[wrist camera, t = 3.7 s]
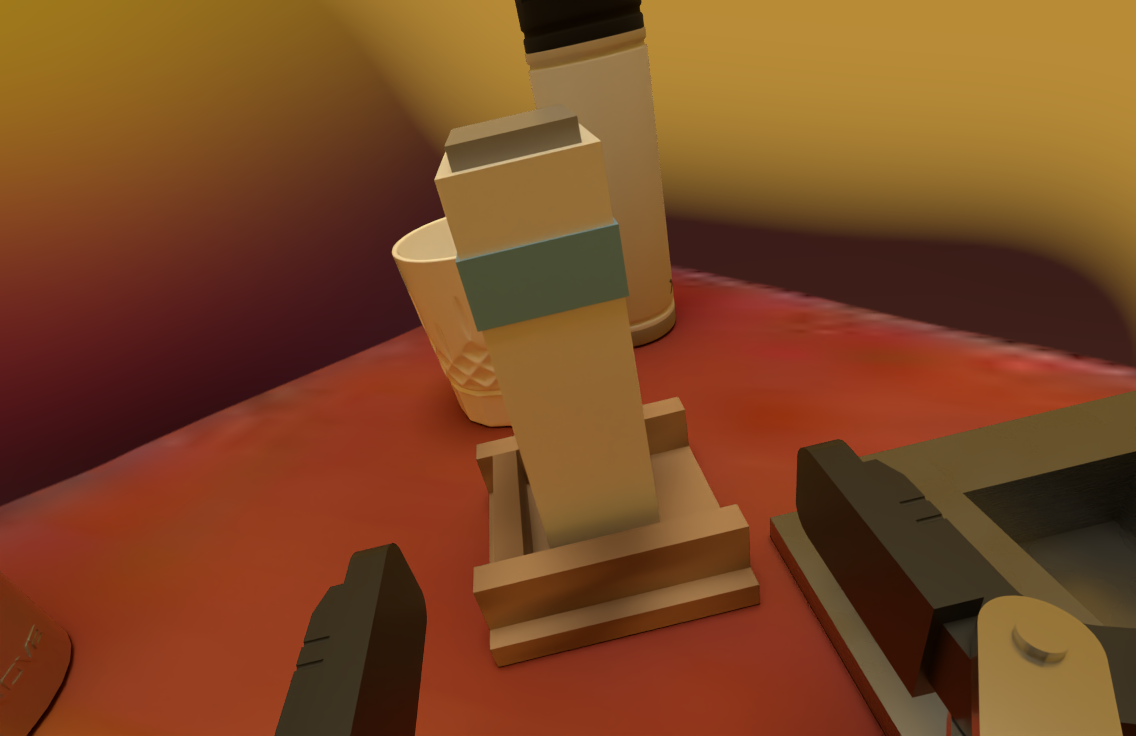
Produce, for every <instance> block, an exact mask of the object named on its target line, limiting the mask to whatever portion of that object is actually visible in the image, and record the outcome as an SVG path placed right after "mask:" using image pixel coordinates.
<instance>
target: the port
mask: <svg viewBox="0 0 1136 736" xmlns="http://www.w3.org/2000/svg"><path fill="white" fill-rule="evenodd" d="M859 458H860V459H861V460H862V461H863V462H865V461H870V460H874V459H877V460H879V461H880V462H882V463H884V464H886V465H888V466H889V467H891V468H893V469H895V470H897V471H898V472H900V473H902V474H904V475H905V476H906V477H907V478H908V479H909V480H910V481H911V482H912V483H913V484H914V485H915V486H916V487H917V488H918V489H919V490H920V491H921V492H922V494H923V495H924V496H925V499H926V500H927V501H928V500H929V501H930V502H931V503H932V504H933V505H934V506H935V507H936V508H937V509H938V510H939V511H940V512H941V513H942V516H943V518H944V519H945V518H947V519H948V520H949V521H950V522H951V523H952V524H953V525H954V527H955V528H956V529H957V530H958V531H959V532H960V533H961V534H962V535H963V536H964V537H965V538H966V539H967V540H968V541H969V542H970V543H971V544H972V545H973V546H974V547H975V548H976V549H977V550H978V551H979V552H980V553H981V554H982V555H983V556H984V557H985V559H986V560H987V561H988V562H989V563H990V564H991V565H992V566H993V567H994V568H995V569H996V570H997V571H998V572H999V573H1000V574H1001V575H1002V576H1003V577H1004V578H1005V579H1006V580H1007V581H1008V582H1009V583H1010V584H1011V585H1012V586H1013V587H1014V588H1015V589H1016V590H1017V591H1018V592H1019V593H1020V594H1022V595H1023V596H1025V597H1030V598H1035V599H1038V600H1041V601H1044V602H1047V603H1049V604H1052V605H1054V606H1057V607H1058V608H1060V609H1062V610H1064V611H1066V612H1068V613H1069V614H1071V615H1072V616H1074V617H1075V618H1077V619H1078V620H1079V621H1080V622H1081V623H1085V624H1090V625H1098V626H1110V627H1124V628H1136V391H1132V392H1128V393H1124V394H1120V395H1115V396H1111V397H1107V398H1103V399H1099V400H1095V401H1090V402H1086V403H1082V404H1078V405H1074V406H1070V407H1066V408H1061V409H1057V410H1053V411H1049V412H1045V413H1041V414H1036V415H1032V416H1028V417H1024V418H1020V419H1016V420H1012V421H1007V422H1003V423H999V424H995V425H991V426H987V427H982V428H978V429H974V430H970V431H966V432H962V433H958V434H953V435H949V436H945V437H941V438H937V439H933V440H928V441H924V442H920V443H916V444H912V445H908V446H903V447H899V448H895V449H891V450H887V451H883V452H879V453H874V454H870V455H866V456H862V457H859ZM770 537H771V539H772V540H773V542H774V544H775V545H776V547H777V549H778V551H779V552H780V554H781V556H782V558H783V559H784V561H785V563H786V564H787V566H788V568H789V570H790V571H791V573H792V575H793V576H794V578H795V580H796V582H797V583H798V585H799V587H800V589H801V590H802V592H803V594H804V595H805V597H806V599H807V601H808V602H809V604H810V606H811V607H812V609H813V611H814V613H815V614H816V616H817V618H818V619H819V621H820V623H821V625H822V626H823V628H824V630H825V632H826V633H827V635H828V637H829V638H830V640H831V642H832V644H833V645H834V647H835V649H836V650H837V652H838V654H839V656H840V657H841V659H842V661H843V663H844V664H845V666H846V668H847V669H848V671H849V673H850V675H851V676H852V678H853V680H854V681H855V683H856V685H857V687H858V688H859V690H860V692H861V694H862V695H863V697H864V699H865V700H866V702H867V704H868V706H869V707H870V709H871V711H872V712H873V714H874V716H875V718H876V719H877V721H878V723H879V724H880V726H881V728H882V730H883V731H884V733H885V735H886V736H946V722H947V713H948V709H947V708H946V706H945V705H944V703H943V702H942V701H941V699H940V698H939V696H938V695H937V693H936V692H935V693H930V694H926V695H922V696H918V697H914V698H912V696H911V695H910V693H909V692H908V690H907V689H906V687H905V686H904V684H903V683H902V681H901V680H900V678H899V676H898V675H897V673H896V672H895V670H894V669H893V667H892V666H891V664H890V663H889V661H888V660H887V658H886V657H885V655H884V653H883V652H882V650H881V649H880V647H879V646H878V644H877V643H876V641H875V640H874V638H873V637H872V635H871V633H870V632H869V630H868V629H867V627H866V626H865V624H864V623H863V621H862V620H861V618H860V617H859V615H858V613H857V612H856V610H855V609H854V607H853V606H852V604H851V603H850V601H849V600H848V598H847V597H846V595H845V593H844V592H843V590H842V589H841V587H840V586H839V584H838V583H837V581H836V580H835V578H834V577H833V575H832V573H831V572H830V570H829V569H828V567H827V566H826V564H825V563H824V561H823V560H822V558H821V557H820V555H819V554H818V552H817V550H816V549H815V547H814V546H813V544H812V543H811V541H810V540H809V538H808V537H807V535H806V533H805V531H804V529H803V527H802V525H801V522H800V520H799V516H798V513H797V511H796V512H792V513H788V514H784V515H779V516H775V517H771V518H770Z"/></svg>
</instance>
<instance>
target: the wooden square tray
mask: <svg viewBox="0 0 1136 736" xmlns="http://www.w3.org/2000/svg"><path fill="white" fill-rule="evenodd" d="M642 408H643V414H644V421H645V427H646V434H647V440H648V446H649V453H650V459H651V466H652V472H653V478H654V485H655V491H656V498H657V504H658V511H659V517H660V523H656V524H652V525H648V526H643V527H639V528H635V529H631V530H627V531H623V532H619V533H614V534H610V535H606V536H602V537H598V538H594V539H590V540H585V541H581V542H577V543H573V544H569V545H565V546H560V547H556V548H552V549H550V546H549V543H548V540H547V537H546V533H545V530H544V527H543V524H542V521H541V518H540V514H539V511H538V508H537V505H536V502H535V498H534V495H533V492H532V489H531V486H530V483H529V479H528V476H527V473H526V470H525V467H524V463H523V460H522V457H521V454H520V451H519V448H518V444H517V441H516V438H515V436H512V437H507V438H503V439H499V440H495V441H491V442H486V443H482V444H478V445H477V456H476V460H477V462H478V465H479V468H480V471H481V473H482V476H483V479H484V481H485V484H486V487H487V489H488V492H489V546H490V564H486V565H482V566H477V567H474V582H473V593H474V596H475V598H476V600H477V602H478V605H479V607H480V609H481V611H482V613H483V616H484V618H485V620H486V622H487V625H488V627H489V629H490V651H491V653H492V655H493V657H494V659H495V661H496V663H497V666H498V667H500V666H505V665H509V664H513V663H517V662H521V661H525V660H529V659H533V658H537V657H542V656H546V655H550V654H554V653H558V652H562V651H566V650H570V649H575V648H579V647H583V646H587V645H591V644H595V643H599V642H603V641H607V640H612V639H616V638H620V637H624V636H628V635H632V634H636V633H640V632H644V631H649V630H653V629H657V628H661V627H665V626H669V625H673V624H677V623H682V622H686V621H690V620H694V619H698V618H702V617H706V616H710V615H714V614H719V613H723V612H727V611H731V610H735V609H739V608H743V607H747V606H752V605H756V604H760V594H759V583H758V581H757V579H756V577H755V575H754V573H753V571H752V569H751V567H750V542H749V526H748V524H747V522H746V520H745V518H744V516H743V515H742V513H741V511H740V509H739V507H738V505H737V504H735V505H731V506H726V507H722V508H720V506H719V504H718V502H717V500H716V498H715V497H714V495H713V493H712V491H711V489H710V487H709V485H708V483H707V481H706V479H705V477H704V475H703V473H702V471H701V469H700V467H699V465H698V463H697V461H696V459H695V457H694V455H693V453H692V451H691V449H690V447H689V443H688V434H687V424H686V415H685V409H684V407H683V405H682V403H681V402H680V400H679V398H678V397H675V398H671V399H666V400H662V401H658V402H654V403H650V404H646V405H642Z"/></svg>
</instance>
